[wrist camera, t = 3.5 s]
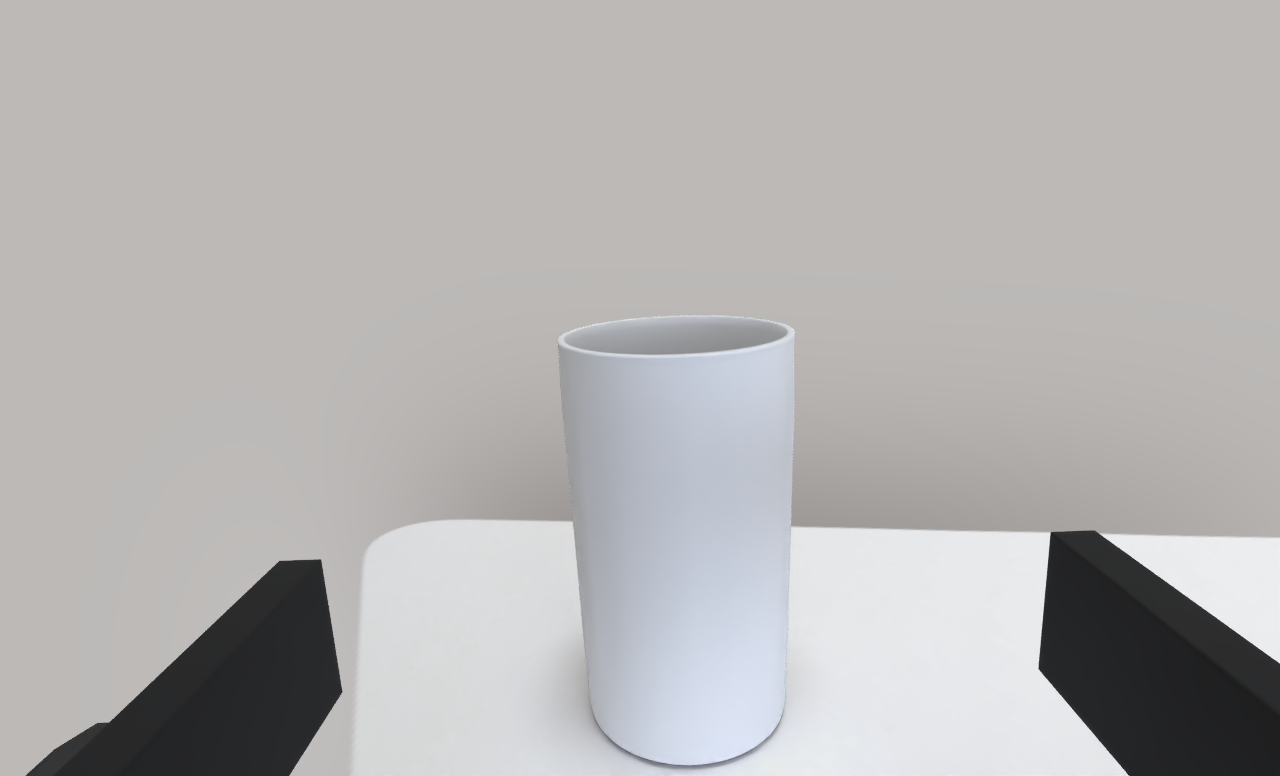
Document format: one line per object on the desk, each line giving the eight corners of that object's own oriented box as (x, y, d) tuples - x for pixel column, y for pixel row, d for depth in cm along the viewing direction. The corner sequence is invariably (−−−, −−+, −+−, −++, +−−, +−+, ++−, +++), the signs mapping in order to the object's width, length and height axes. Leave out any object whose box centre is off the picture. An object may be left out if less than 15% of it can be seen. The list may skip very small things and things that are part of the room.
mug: (829, 754, 21) (837, 343, 18) (597, 795, 20) (568, 364, 17) (726, 585, 31) (721, 299, 28) (565, 607, 30) (543, 310, 27)
